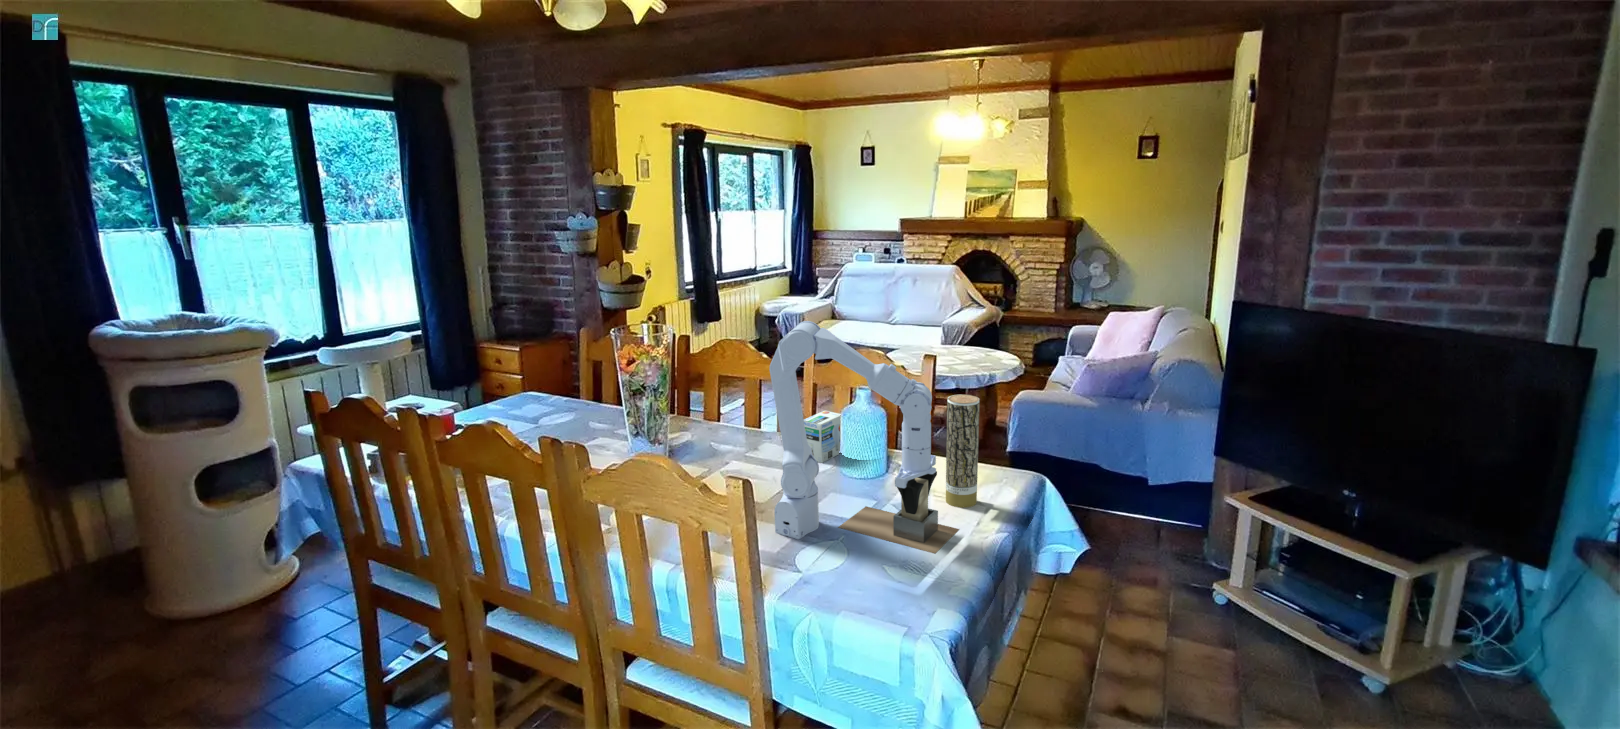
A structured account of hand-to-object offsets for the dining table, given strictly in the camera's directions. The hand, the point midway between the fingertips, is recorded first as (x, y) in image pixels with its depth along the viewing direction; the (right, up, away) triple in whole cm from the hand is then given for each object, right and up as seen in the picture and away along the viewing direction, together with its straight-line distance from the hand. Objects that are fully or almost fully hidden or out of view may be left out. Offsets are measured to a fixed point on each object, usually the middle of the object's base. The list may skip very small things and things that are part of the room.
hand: (915, 508), depth 151 cm
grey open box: (0, -5, +1) cm, 5 cm away
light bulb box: (-18, +5, +49) cm, 53 cm away
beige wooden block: (0, -2, +1) cm, 2 cm away
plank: (-3, -6, +4) cm, 8 cm away
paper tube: (+12, -3, +16) cm, 20 cm away
